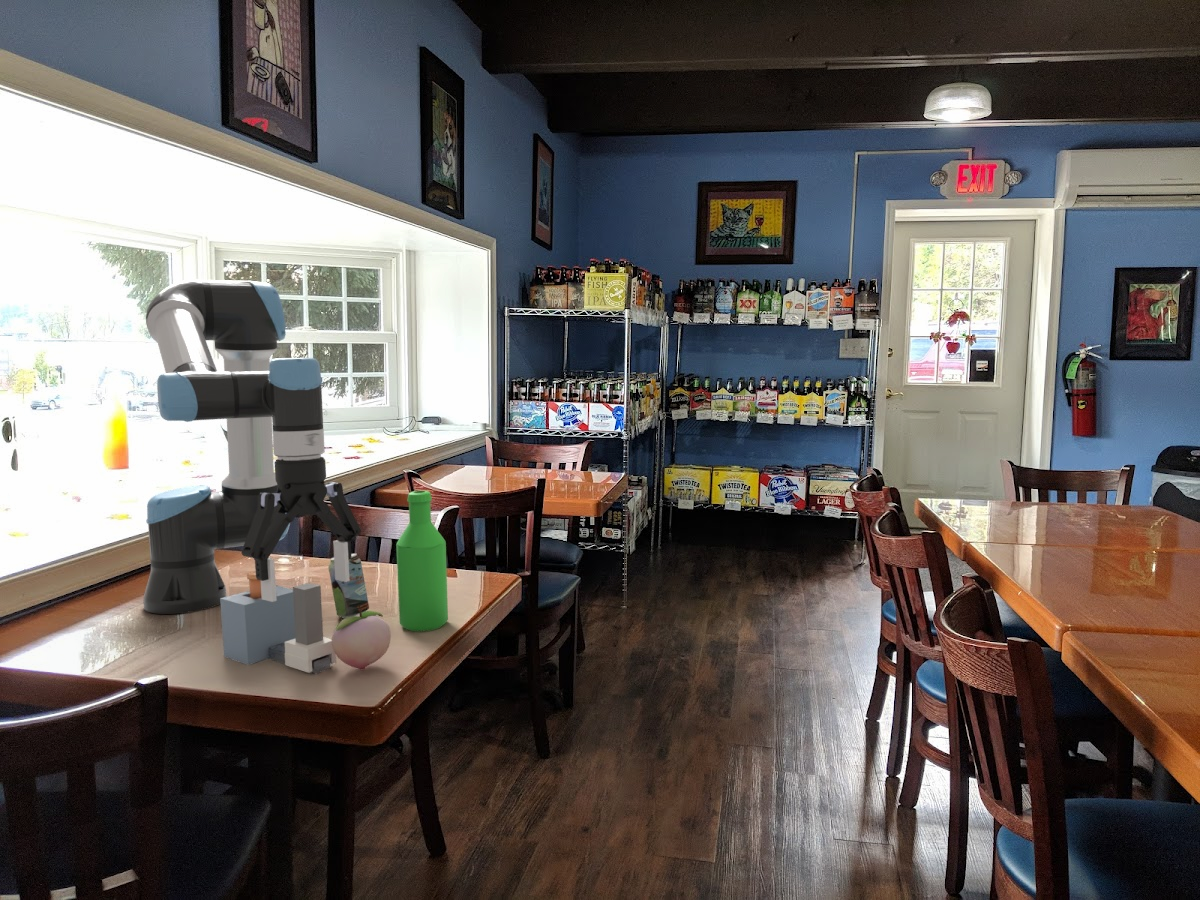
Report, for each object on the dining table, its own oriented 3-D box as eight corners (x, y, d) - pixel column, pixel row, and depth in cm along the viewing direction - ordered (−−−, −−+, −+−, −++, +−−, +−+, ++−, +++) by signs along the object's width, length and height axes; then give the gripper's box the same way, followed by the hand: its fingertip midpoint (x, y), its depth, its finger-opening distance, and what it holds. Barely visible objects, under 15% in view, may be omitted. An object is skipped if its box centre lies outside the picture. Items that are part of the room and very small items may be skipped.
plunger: (244, 603, 143) (242, 574, 143) (263, 598, 146) (261, 569, 146) (256, 606, 141) (255, 577, 141) (276, 601, 144) (274, 572, 144)
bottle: (431, 635, 152) (427, 497, 149) (390, 630, 155) (384, 494, 152) (456, 620, 161) (452, 489, 158) (416, 615, 164) (412, 487, 161)
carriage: (285, 664, 137) (280, 587, 135) (312, 655, 141) (308, 579, 140) (308, 672, 133) (304, 593, 132) (336, 662, 138) (332, 585, 136)
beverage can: (360, 622, 160) (357, 559, 159) (324, 620, 162) (321, 558, 160) (375, 612, 166) (372, 551, 165) (340, 610, 168) (337, 550, 166)
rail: (269, 659, 141) (268, 647, 141) (285, 653, 144) (284, 642, 144) (314, 674, 134) (314, 662, 134) (330, 668, 137) (329, 656, 137)
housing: (223, 656, 143) (220, 598, 142) (276, 639, 151) (273, 584, 150) (248, 664, 139) (244, 605, 138) (301, 647, 147) (298, 590, 146)
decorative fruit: (367, 683, 130) (364, 620, 129) (324, 676, 133) (321, 614, 132) (403, 663, 139) (401, 603, 138) (362, 656, 142) (360, 598, 141)
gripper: (240, 467, 121) (249, 613, 123) (378, 450, 141) (384, 575, 144) (211, 464, 125) (220, 605, 128) (349, 448, 146) (355, 570, 148)
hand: (307, 590), depth 136 cm, fingers open, 13 cm apart
